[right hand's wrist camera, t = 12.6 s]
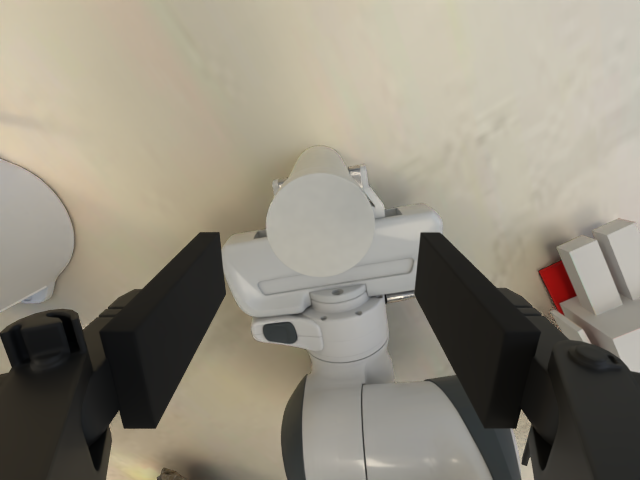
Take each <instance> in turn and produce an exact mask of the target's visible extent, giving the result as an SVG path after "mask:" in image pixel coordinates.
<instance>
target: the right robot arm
mask: <svg viewBox="0 0 640 480" xmlns="http://www.w3.org/2000/svg"><path fill="white" fill-rule="evenodd" d="M225 295H226V290H225V281H224V271H223V262H222V252H221V243H220V233H219V232H200V233H199V234H198V235H197V236H196V237H195V238H194V239H193V240H192V241H191V242H190V243H189V244H188V245H187V246H186V247H185V248H184V249H183V250H182V251H180V252H179V253H178V254H177V255H176V256H175V257H174V258H173V259H172V260H171V261H170V262H169V263H168V264H167V265H166V266H165V267H164V268H163V269H162V270H161V271H160V272H159V273H158V274H157V275H156V276H155V277H154V278H153V279H152V280H151V281H150V282H149V283H148V284H147V285H146V286H145V287H144V288H143V289H134V290H132V291H130V292H128V293H126V294H124V295H123V296H121V297H119V298H118V299H117V300H115V301H114V302H113V303H112V304H111V305H110V306H109V307H108V309H106V310H104V311H103V312H102V313H101V314H100V315H99V317H97V318H96V319H95V320H93V321H92V322H91V323H90V324H89V325H88V326H87V327H86V328H85V329H84V330H82V327H81V323H80V319H79V316H78V313H76V312H75V311H73V310H67V309H56V310H48V311H44V312H40V313H36V314H33V315H30V316H27V317H25V318H22V319H20V320H18V321H16V322H14V323H12V324H11V325H9V326H7V327H6V328H5V329H4V330H3V331H2V332H0V337H1V340H2V342H3V345H4V348H5V350H6V353H7V356H8V358H9V361H10V364H11V366H12V369H11V370H10V372H9V373H5V374H0V480H106V475H107V469H108V462H109V456H110V450H111V443H112V437H111V431H110V428H109V424H110V423H111V421H112V420H113V418H114V417H115V415H116V414H117V412H118V411H119V412H120V415H121V419H122V423H123V427H124V429H156V427H157V425H158V423H159V421H160V419H161V417H162V415H163V413H164V411H165V410H166V408H167V406H168V404H169V402H170V400H171V398H172V396H173V394H174V392H175V390H176V389H177V387H178V385H179V383H180V381H181V379H182V377H183V375H184V373H185V371H186V369H187V368H188V366H189V364H190V362H191V360H192V358H193V356H194V354H195V352H196V350H197V348H198V347H199V345H200V343H201V341H202V339H203V337H204V335H205V333H206V331H207V329H208V327H209V325H210V324H211V322H212V320H213V318H214V316H215V314H216V312H217V310H218V308H219V306H220V304H221V303H222V301H223V299H224V297H225ZM414 295H415V297H416V299H417V301H418V303H419V304H420V306H421V308H422V310H423V312H424V314H425V316H426V318H427V320H428V322H429V324H430V325H431V327H432V329H433V331H434V333H435V335H436V337H437V339H438V341H439V343H440V345H441V347H442V348H443V350H444V352H445V354H446V356H447V358H448V360H449V362H450V364H451V366H452V368H453V369H454V371H455V373H456V375H457V377H458V379H459V381H460V383H461V385H462V387H463V389H464V390H465V392H466V394H467V396H468V398H469V400H470V402H471V404H472V406H473V408H474V410H475V411H476V413H477V415H478V417H479V419H480V421H481V423H482V425H483V427H484V429H516V427H517V423H518V419H519V415H520V412H521V409H522V410H523V412H524V413H525V415H526V416H527V418H528V419H529V421H530V422H531V428H530V431H529V435H528V439H527V442H526V446H525V449H524V453H523V457H522V465H525V466H527V464H528V460H529V458H530V457H531V461H532V468H533V474H534V480H640V373H638V372H633V371H630V369H629V368H628V366H627V365H626V364H625V363H624V362H623V361H622V360H621V359H620V358H618V357H617V356H615V355H614V354H612V353H611V352H609V351H607V350H605V349H603V348H601V347H598V346H596V345H593V344H590V343H586V342H582V341H576V340H569V339H568V338H567V337H566V336H565V335H564V334H563V333H562V332H561V331H559V330H558V329H557V328H556V327H555V326H554V325H553V324H552V323H551V322H549V321H548V320H547V319H546V318H545V317H544V316H541V313H540V312H538V311H537V310H536V309H535V308H532V305H531V304H530V303H528V302H527V301H526V300H525V299H524V298H523V297H522V296H520V295H518V294H516V293H514V292H512V291H510V290H509V289H507V288H496V287H495V286H494V285H493V284H492V283H491V282H490V281H489V280H488V279H487V278H486V277H485V276H484V275H483V274H482V273H481V272H480V271H479V270H478V269H477V268H476V267H475V266H474V265H473V264H472V263H471V262H470V261H469V260H468V259H467V258H466V257H465V256H464V255H463V254H462V253H461V252H459V251H458V250H457V249H456V248H455V247H454V246H453V245H452V244H451V243H450V242H449V241H448V240H447V239H446V238H445V237H444V236H443V235H442V234H441V233H440V232H421V233H420V243H419V252H418V262H417V271H416V281H415V290H414Z"/></svg>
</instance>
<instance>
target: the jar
mask: <svg viewBox="0 0 640 480" xmlns="http://www.w3.org/2000/svg"><path fill="white" fill-rule="evenodd" d="M317 166H324V167H331V168H335V169H338V170H340V171H342V172H345V173H346V174H348V175H349V176H351V175H350V173H349V171H348V169H347V167H346V165H345V163H344V161H343V159H342V157H341V156H340V155H339V153H338V152H336V151H335V150H334V149H332V148H330V147H327V146H313V147H310V148H308V149H307V150H305V151H304V152H303V153H302V154H301V155H300V156H299V158H298V159H297V161H296V163H295V165H294V167H293V169H292V171H291V173H290V175H289V177H290V176H292V175H293V174H295V173H296V172H298V171H300V170H303V169H306V168H310V167H317ZM289 177H288V178H289Z"/></svg>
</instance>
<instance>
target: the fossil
mask: <svg viewBox="0 0 640 480" xmlns="http://www.w3.org/2000/svg"><path fill="white" fill-rule="evenodd" d="M157 480H188V479H186V478H184V477H182V476H181V475H180V474H179V473H177V472H176V471H173V470H170V469H167V468H163V469H162V472H161V475H160V476H158V477H157Z"/></svg>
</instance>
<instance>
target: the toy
mask: <svg viewBox="0 0 640 480" xmlns="http://www.w3.org/2000/svg"><path fill="white" fill-rule="evenodd" d="M592 233H593V236H594V238H595V239H593V238H590V237H586V236H583V235H581V236H579V237H577V238H575V239H572V240H570V241H568V242H566V243H564V244H561V245H559V246H557V247H556V248H557V250H558V253H559V255H560V257H561V261H559V262H557V263H555V264H552V265H550V266H548V267H546V268H544V269H542V270H540V271H539V273H540V275H541V277H542V279H543V281H544V283H545V285H546V287H547V289H548V291H549V293H550V295H551V297H552V299H553V302H554V304H555V306H556V308H557V310H558V311H557V310H555V309H553V310H551V311H550V313H551V314H552V316H553V318H554V319H555V321H556V323H557V324H558V326H559V328H560V329H561V331H562V333H563V334H564V335H565V336H566V337H567V338H568V339H569V340H576V341H582V342H586V343H590V344H593V345H596V346H598V347H601V348H603V349H605V350H607V351H609V352H611V353H612V354H614V355H615V356H617V357H618V358H620V359H621V360H622V361H623V362H624V363H625V364H626V365H627V366H628V368H629V369H630V371H633V372H638V373H640V232H639V229H638V226H637V224H636V222H633V221H628V220H623V219H619V218H618V219H616V220H614V221H612V222H610V223H607V224H605V225H603V226H601V227H599V228H596V229H594V230H592Z"/></svg>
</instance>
